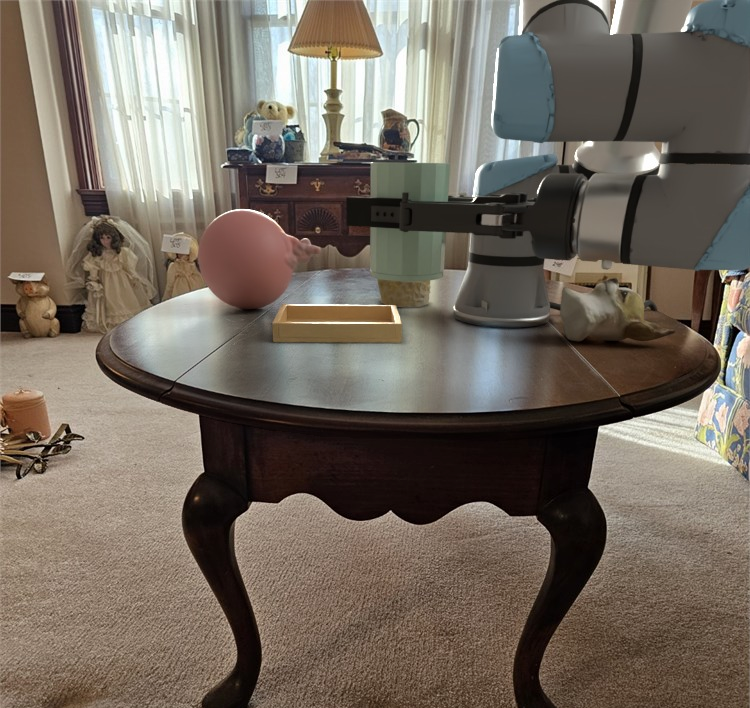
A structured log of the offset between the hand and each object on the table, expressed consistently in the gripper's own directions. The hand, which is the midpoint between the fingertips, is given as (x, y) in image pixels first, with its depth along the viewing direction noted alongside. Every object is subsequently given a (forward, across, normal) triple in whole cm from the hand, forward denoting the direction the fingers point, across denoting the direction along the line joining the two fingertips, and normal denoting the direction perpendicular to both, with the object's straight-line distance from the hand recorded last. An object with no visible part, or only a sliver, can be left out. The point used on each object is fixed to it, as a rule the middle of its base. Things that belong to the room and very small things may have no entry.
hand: (368, 209), depth 70 cm
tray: (+13, +15, -18) cm, 27 cm away
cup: (-5, 0, -6) cm, 8 cm away
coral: (+15, +40, -18) cm, 47 cm away
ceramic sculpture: (-23, +29, -18) cm, 41 cm away
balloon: (+33, +24, -18) cm, 44 cm away
